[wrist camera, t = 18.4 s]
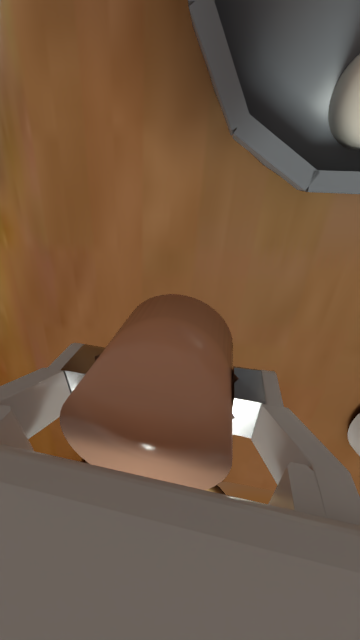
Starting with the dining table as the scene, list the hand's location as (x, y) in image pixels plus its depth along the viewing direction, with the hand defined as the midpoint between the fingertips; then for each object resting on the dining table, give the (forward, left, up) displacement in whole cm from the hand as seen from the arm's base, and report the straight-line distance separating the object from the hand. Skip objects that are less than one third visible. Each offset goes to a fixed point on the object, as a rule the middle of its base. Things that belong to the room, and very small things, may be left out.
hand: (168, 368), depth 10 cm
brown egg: (0, 0, -2) cm, 2 cm away
